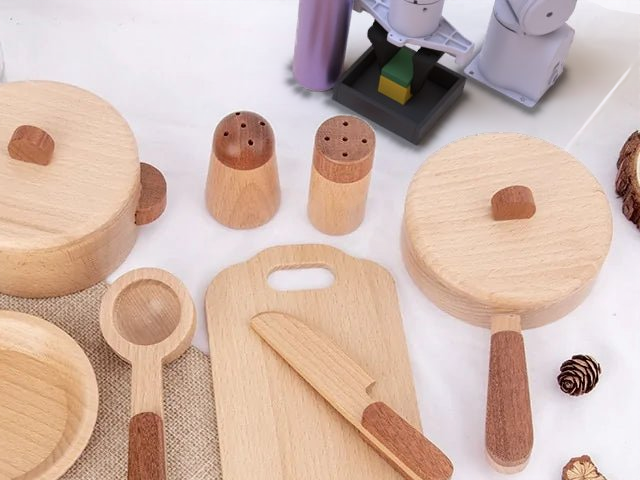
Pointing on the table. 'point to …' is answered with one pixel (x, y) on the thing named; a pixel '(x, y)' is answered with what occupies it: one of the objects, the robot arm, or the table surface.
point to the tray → (403, 120)
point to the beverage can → (321, 42)
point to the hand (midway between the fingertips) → (401, 81)
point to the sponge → (397, 77)
